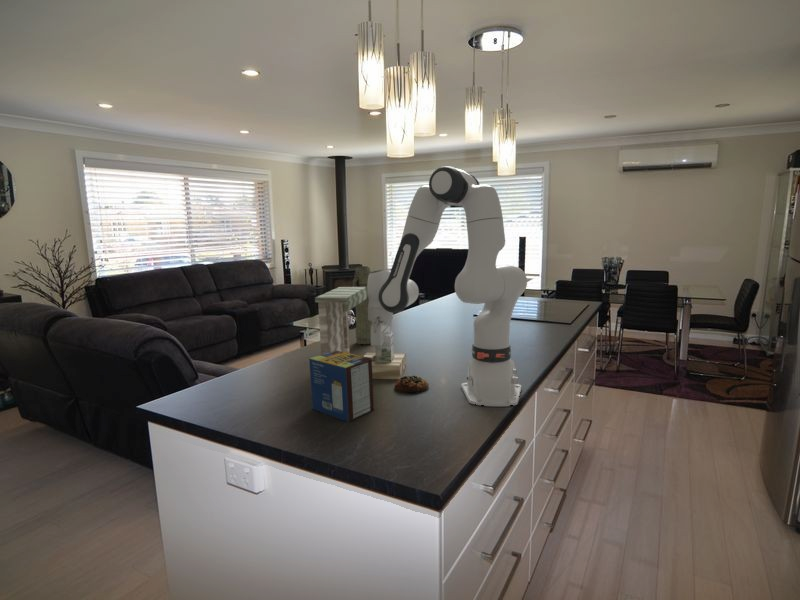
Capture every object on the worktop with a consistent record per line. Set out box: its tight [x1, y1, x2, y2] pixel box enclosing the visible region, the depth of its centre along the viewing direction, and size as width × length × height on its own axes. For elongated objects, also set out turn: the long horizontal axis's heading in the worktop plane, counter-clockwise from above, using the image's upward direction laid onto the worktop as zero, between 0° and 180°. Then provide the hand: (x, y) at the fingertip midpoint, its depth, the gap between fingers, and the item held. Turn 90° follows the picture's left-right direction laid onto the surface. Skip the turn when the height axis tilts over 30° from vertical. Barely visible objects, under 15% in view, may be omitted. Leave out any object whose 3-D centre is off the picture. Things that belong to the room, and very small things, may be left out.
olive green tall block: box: [352, 265, 372, 345], centre depth 203 cm, size 9×12×35 cm
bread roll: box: [394, 375, 430, 395], centre depth 145 cm, size 11×11×5 cm
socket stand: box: [314, 286, 407, 380], centre depth 161 cm, size 28×26×30 cm
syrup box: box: [376, 331, 395, 362], centre depth 161 cm, size 6×6×14 cm
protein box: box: [308, 350, 375, 423], centre depth 128 cm, size 10×15×16 cm
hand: (381, 352), depth 161 cm, fingers open, 8 cm apart
